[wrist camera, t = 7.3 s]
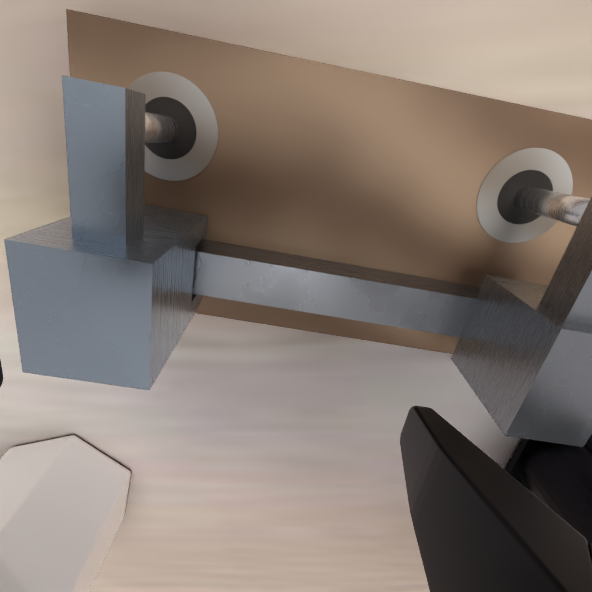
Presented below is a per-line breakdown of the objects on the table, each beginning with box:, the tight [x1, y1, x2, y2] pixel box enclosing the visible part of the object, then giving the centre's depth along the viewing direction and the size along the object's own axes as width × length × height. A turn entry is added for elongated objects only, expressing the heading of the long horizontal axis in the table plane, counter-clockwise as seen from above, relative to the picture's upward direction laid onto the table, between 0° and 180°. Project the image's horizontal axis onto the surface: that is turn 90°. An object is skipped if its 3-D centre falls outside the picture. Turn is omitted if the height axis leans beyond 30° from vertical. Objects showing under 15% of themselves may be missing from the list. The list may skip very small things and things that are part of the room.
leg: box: [4, 76, 208, 390], centre depth 13 cm, size 9×4×7 cm, turn 170°
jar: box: [0, 435, 131, 592], centre depth 20 cm, size 9×8×12 cm
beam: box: [192, 186, 592, 447], centre depth 14 cm, size 9×22×7 cm, turn 80°
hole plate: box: [66, 9, 592, 354], centre depth 17 cm, size 12×25×1 cm, turn 80°
